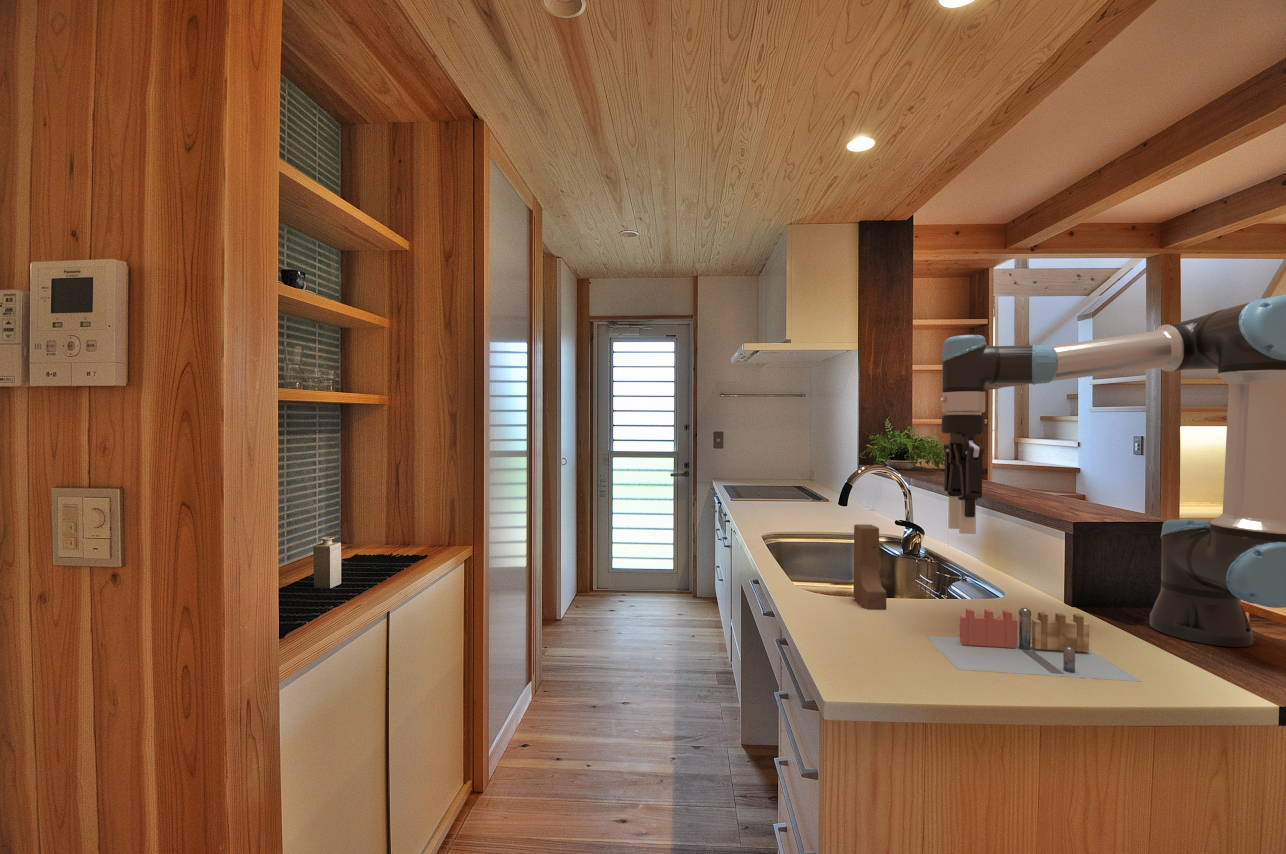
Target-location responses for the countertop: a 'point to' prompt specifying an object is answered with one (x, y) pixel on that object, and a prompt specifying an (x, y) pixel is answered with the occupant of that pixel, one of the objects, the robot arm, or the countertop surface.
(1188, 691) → the countertop surface
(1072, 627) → the fence fixed
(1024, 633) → the post
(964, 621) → the fence panel
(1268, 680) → the countertop surface
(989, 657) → the card
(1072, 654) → the peg
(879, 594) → the wooden block
